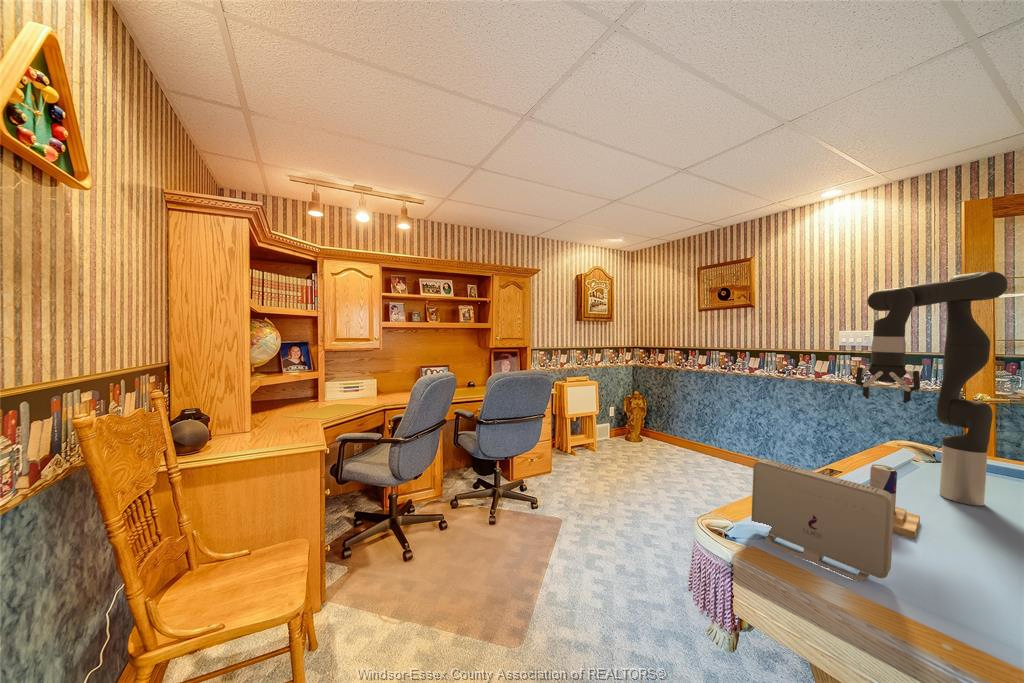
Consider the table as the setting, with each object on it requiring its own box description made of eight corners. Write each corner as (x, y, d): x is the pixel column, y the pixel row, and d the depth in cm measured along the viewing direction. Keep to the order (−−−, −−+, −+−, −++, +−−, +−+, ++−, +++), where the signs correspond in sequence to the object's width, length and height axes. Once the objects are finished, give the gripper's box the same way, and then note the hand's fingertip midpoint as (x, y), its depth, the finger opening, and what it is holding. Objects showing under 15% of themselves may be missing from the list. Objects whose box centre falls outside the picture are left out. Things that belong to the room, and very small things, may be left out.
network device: (747, 535, 95) (750, 461, 94) (760, 525, 100) (763, 455, 99) (884, 594, 74) (889, 500, 73) (892, 578, 79) (896, 489, 79)
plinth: (853, 503, 114) (853, 492, 114) (919, 522, 103) (920, 510, 103) (843, 516, 106) (844, 505, 105) (914, 539, 94) (915, 526, 94)
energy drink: (900, 513, 101) (902, 472, 101) (878, 511, 102) (880, 470, 102) (884, 504, 106) (887, 465, 106) (863, 502, 107) (865, 463, 107)
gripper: (922, 351, 111) (920, 403, 112) (859, 349, 123) (857, 396, 123) (920, 352, 107) (917, 405, 107) (855, 349, 118) (853, 398, 118)
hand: (885, 400), depth 115 cm, fingers open, 8 cm apart
